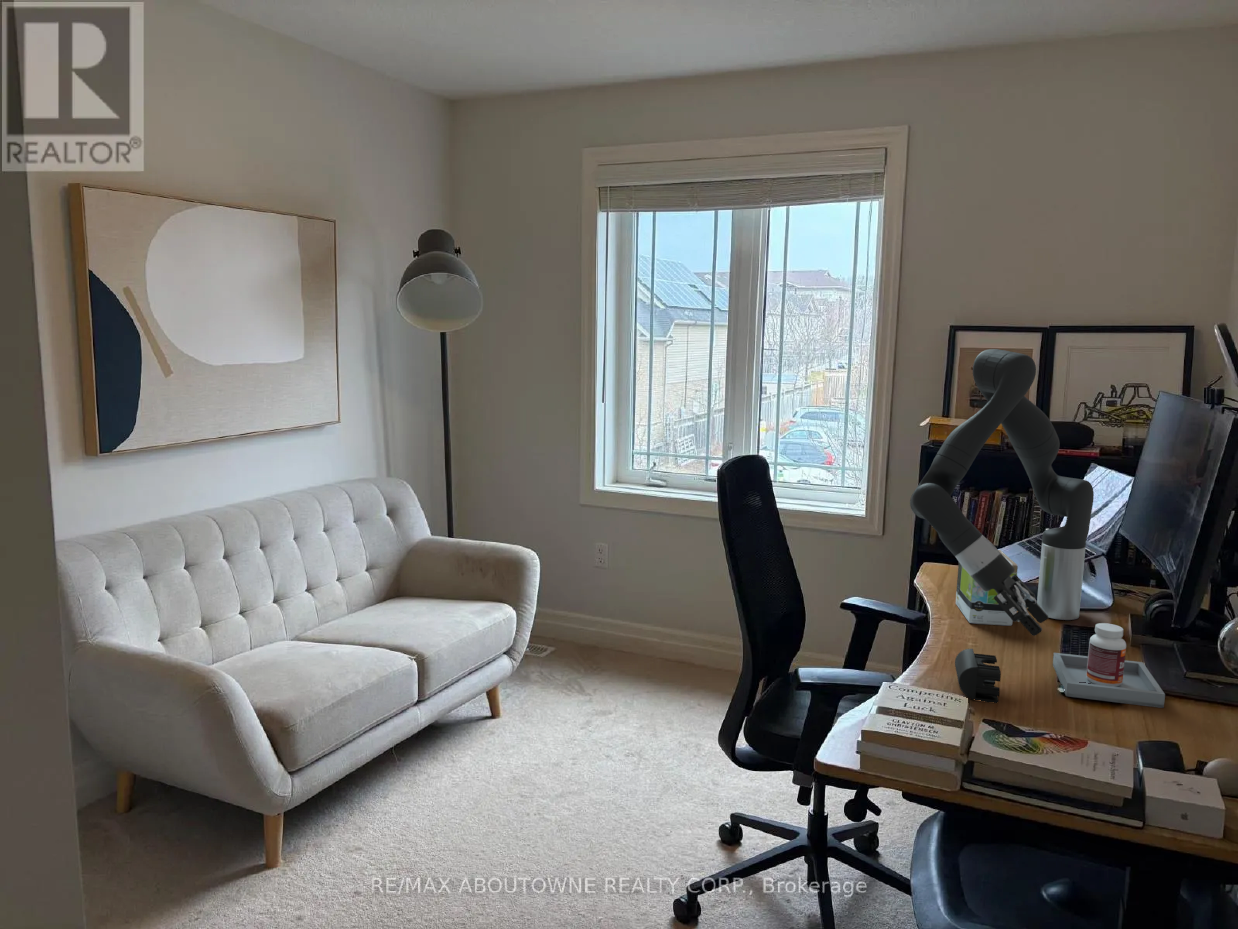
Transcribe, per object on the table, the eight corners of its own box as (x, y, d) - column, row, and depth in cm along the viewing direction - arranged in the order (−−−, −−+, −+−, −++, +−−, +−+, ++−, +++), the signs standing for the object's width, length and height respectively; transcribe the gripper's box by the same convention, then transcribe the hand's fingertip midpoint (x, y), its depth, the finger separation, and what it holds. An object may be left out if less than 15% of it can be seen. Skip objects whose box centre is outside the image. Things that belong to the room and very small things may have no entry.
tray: (1052, 664, 178) (1053, 652, 177) (1141, 674, 173) (1142, 662, 173) (1066, 696, 163) (1067, 683, 162) (1163, 708, 158) (1165, 694, 158)
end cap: (953, 679, 171) (955, 646, 170) (992, 683, 169) (995, 650, 168) (957, 700, 161) (959, 665, 160) (998, 705, 159) (1001, 670, 158)
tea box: (1014, 626, 200) (1019, 564, 198) (968, 624, 202) (972, 562, 200) (996, 606, 215) (1001, 548, 213) (954, 604, 217) (958, 546, 214)
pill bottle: (1125, 690, 164) (1131, 634, 162) (1088, 685, 166) (1094, 630, 164) (1118, 677, 170) (1124, 623, 168) (1083, 673, 172) (1088, 620, 170)
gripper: (992, 560, 170) (1052, 627, 166) (1005, 544, 182) (1061, 606, 178) (962, 582, 174) (1020, 648, 170) (976, 565, 186) (1031, 626, 182)
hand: (1041, 626), depth 174 cm, fingers open, 8 cm apart
